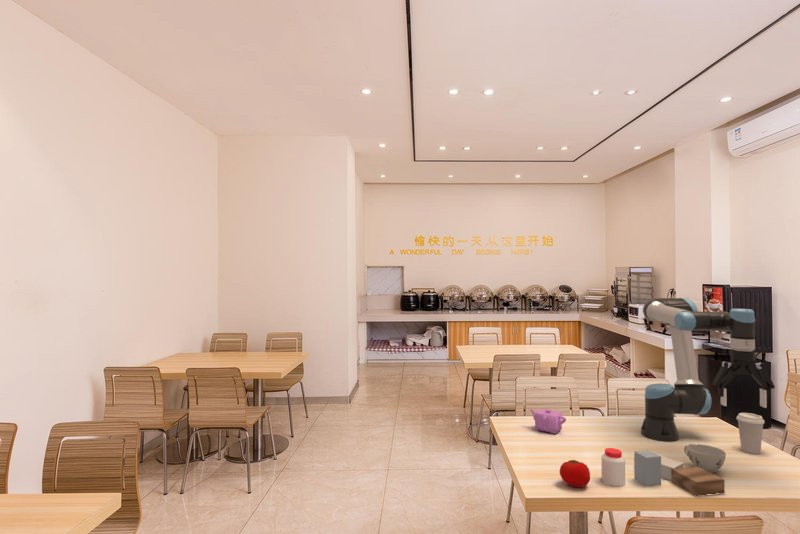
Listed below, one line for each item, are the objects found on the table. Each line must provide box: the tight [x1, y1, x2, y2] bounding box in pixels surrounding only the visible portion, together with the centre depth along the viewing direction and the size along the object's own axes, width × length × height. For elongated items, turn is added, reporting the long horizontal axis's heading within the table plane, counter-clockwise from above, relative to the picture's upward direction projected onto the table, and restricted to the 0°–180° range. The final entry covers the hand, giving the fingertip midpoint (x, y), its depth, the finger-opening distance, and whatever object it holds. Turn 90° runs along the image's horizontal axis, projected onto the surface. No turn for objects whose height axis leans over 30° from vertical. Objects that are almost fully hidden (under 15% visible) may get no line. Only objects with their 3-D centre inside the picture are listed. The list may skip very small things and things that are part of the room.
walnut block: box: [670, 466, 726, 497], centre depth 159 cm, size 11×11×5 cm
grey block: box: [660, 455, 685, 481], centre depth 170 cm, size 8×8×5 cm
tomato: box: [559, 459, 591, 488], centre depth 161 cm, size 9×10×8 cm
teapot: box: [528, 408, 567, 435], centre depth 219 cm, size 18×14×10 cm
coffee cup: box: [736, 412, 766, 455], centre depth 193 cm, size 10×10×15 cm
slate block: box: [633, 449, 662, 488], centre depth 164 cm, size 6×6×10 cm
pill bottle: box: [601, 447, 626, 487], centre depth 164 cm, size 8×8×11 cm
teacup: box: [683, 443, 727, 474], centre depth 175 cm, size 15×12×8 cm
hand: (743, 406), depth 173 cm, fingers open, 13 cm apart
